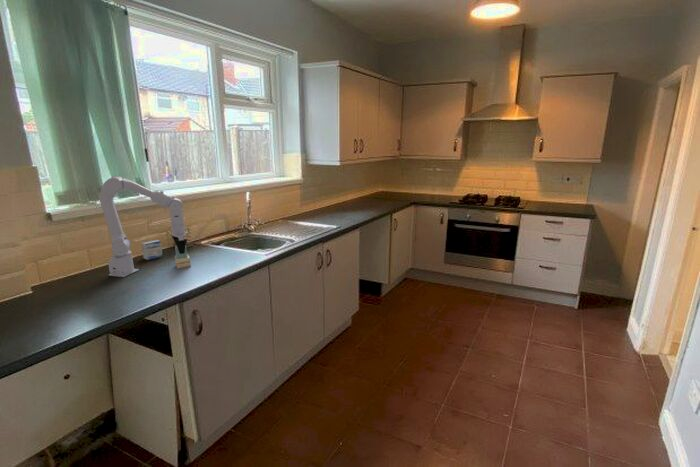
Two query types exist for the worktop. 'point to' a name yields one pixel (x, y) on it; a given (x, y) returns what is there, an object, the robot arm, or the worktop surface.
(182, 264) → the lower slab
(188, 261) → the upper slab
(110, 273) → the robot arm
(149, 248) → the medicine box
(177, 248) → the teal block
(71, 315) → the worktop surface
